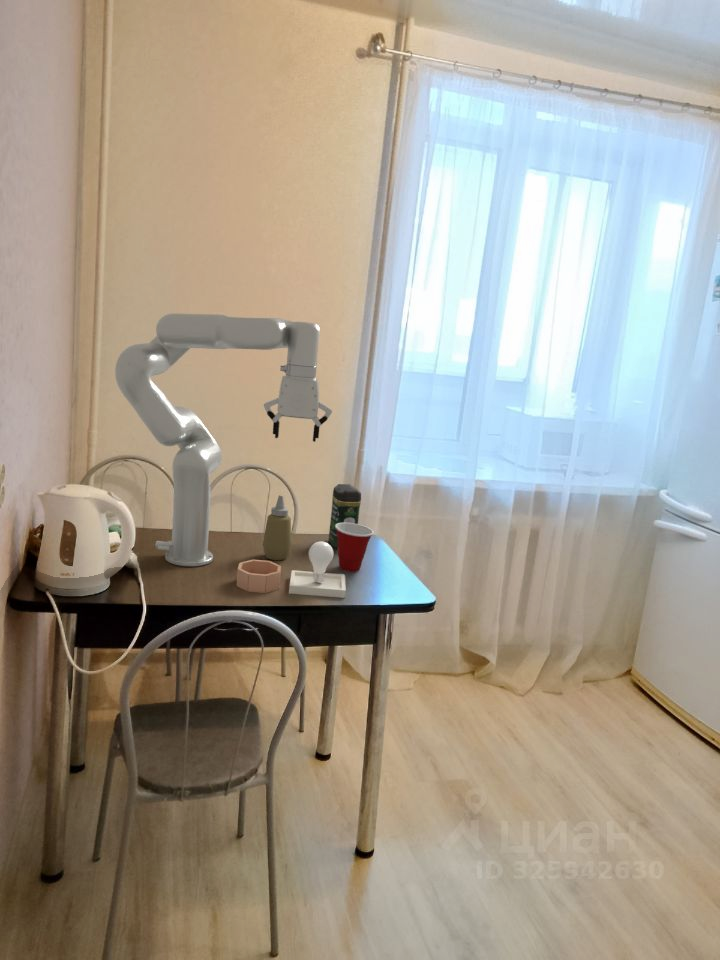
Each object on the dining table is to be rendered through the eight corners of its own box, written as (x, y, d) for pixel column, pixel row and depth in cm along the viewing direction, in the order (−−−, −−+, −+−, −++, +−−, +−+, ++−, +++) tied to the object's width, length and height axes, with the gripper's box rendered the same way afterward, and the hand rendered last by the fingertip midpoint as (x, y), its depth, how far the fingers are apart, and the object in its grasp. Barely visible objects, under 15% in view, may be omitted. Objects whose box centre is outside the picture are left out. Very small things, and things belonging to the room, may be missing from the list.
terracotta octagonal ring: (234, 590, 178) (235, 573, 177) (239, 574, 188) (241, 558, 187) (277, 593, 179) (279, 576, 178) (280, 578, 189) (281, 561, 188)
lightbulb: (333, 587, 184) (338, 546, 181) (309, 587, 181) (313, 546, 179) (326, 578, 189) (330, 538, 187) (302, 578, 187) (306, 538, 185)
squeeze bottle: (292, 562, 201) (297, 500, 197) (263, 562, 199) (268, 499, 195) (288, 552, 209) (293, 492, 205) (260, 552, 207) (264, 491, 203)
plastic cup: (373, 576, 198) (377, 534, 195) (333, 574, 196) (338, 532, 193) (365, 562, 208) (370, 522, 205) (328, 560, 206) (332, 520, 203)
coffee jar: (325, 539, 224) (330, 481, 220) (349, 539, 227) (355, 482, 223) (333, 550, 215) (339, 490, 211) (359, 550, 218) (365, 490, 214)
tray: (288, 593, 180) (289, 585, 179) (291, 577, 190) (291, 570, 190) (345, 597, 181) (345, 590, 180) (344, 581, 191) (344, 574, 191)
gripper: (265, 370, 177) (260, 438, 181) (335, 377, 178) (329, 445, 182) (267, 367, 185) (262, 433, 189) (335, 374, 186) (329, 439, 190)
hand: (295, 439), depth 185 cm, fingers open, 9 cm apart
